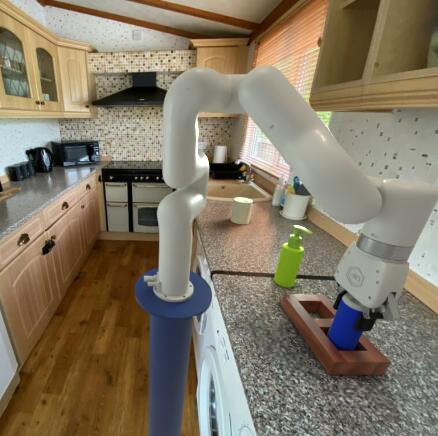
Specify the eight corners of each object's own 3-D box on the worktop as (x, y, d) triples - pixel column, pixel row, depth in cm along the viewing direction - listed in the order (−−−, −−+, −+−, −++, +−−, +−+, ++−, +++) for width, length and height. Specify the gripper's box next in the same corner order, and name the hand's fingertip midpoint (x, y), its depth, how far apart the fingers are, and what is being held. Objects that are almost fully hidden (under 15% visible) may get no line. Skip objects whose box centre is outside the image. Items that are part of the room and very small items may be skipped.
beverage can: (336, 339, 59) (357, 290, 53) (356, 358, 54) (382, 307, 49) (317, 342, 58) (337, 292, 52) (336, 362, 54) (360, 310, 48)
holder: (329, 374, 51) (335, 361, 49) (280, 305, 70) (283, 294, 68) (383, 375, 51) (391, 362, 49) (320, 305, 70) (324, 294, 68)
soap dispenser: (288, 291, 75) (305, 234, 67) (269, 278, 81) (283, 224, 73) (300, 286, 77) (318, 230, 70) (282, 274, 83) (296, 221, 75)
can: (236, 225, 121) (240, 202, 116) (227, 218, 129) (230, 196, 125) (252, 223, 123) (257, 201, 118) (242, 216, 131) (245, 195, 127)
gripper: (331, 226, 53) (308, 292, 60) (407, 272, 38) (365, 354, 45) (365, 226, 53) (338, 292, 60) (455, 273, 38) (406, 355, 45)
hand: (350, 318), depth 52 cm, fingers closed on beverage can, 5 cm apart
